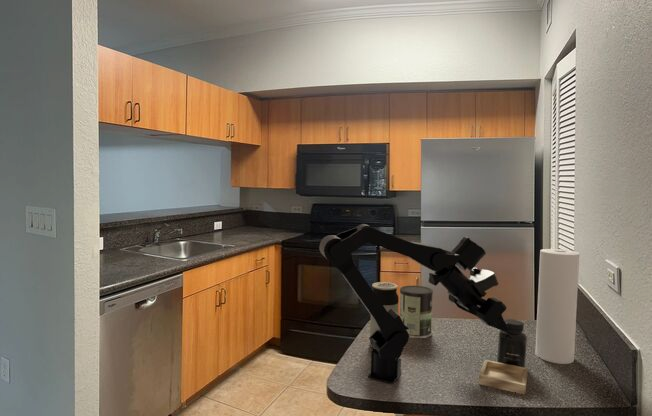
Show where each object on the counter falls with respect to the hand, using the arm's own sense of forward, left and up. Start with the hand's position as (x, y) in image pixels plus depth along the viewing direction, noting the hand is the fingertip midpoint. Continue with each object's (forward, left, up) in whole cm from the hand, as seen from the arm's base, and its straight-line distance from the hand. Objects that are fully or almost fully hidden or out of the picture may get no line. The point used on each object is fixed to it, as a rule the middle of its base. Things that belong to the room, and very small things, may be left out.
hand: (495, 323), depth 107 cm
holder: (+3, -6, -12) cm, 14 cm away
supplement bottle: (+4, +3, -12) cm, 13 cm away
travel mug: (-30, -1, -12) cm, 32 cm away
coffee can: (-25, +14, -12) cm, 31 cm away
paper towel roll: (+14, +16, -12) cm, 24 cm away
